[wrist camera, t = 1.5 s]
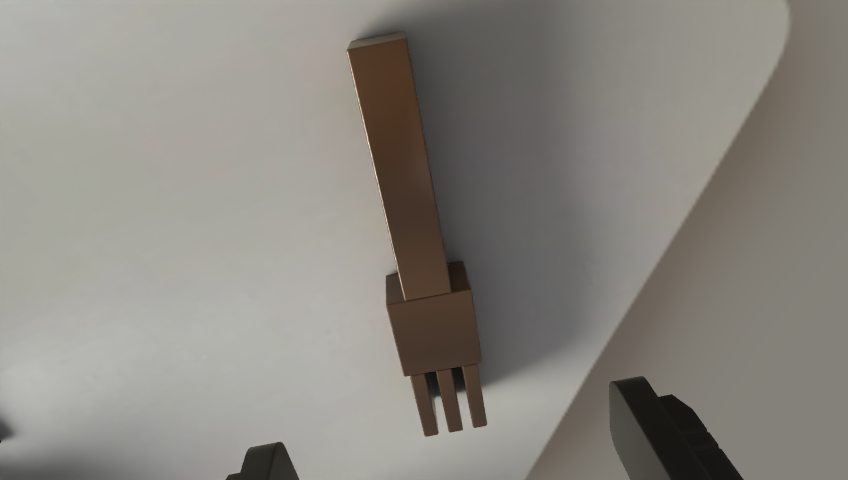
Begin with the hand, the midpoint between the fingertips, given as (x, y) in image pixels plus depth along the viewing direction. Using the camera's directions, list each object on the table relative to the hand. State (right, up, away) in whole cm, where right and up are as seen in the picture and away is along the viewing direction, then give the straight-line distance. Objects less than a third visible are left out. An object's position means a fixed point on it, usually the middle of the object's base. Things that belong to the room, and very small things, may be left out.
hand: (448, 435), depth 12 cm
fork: (-1, +5, +10) cm, 11 cm away
